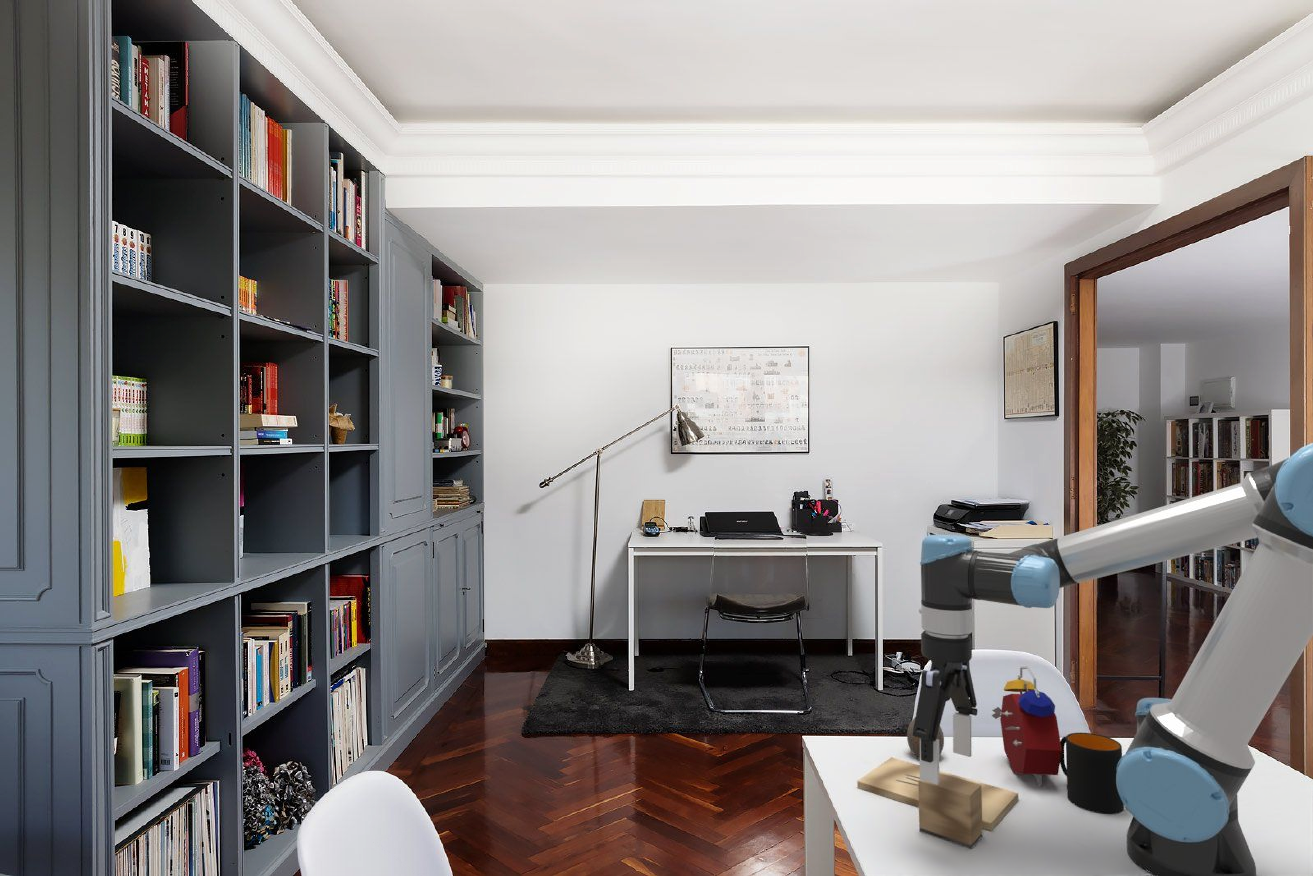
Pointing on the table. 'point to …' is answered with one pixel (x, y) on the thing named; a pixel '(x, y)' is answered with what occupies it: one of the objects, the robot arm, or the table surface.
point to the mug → (1092, 772)
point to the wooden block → (951, 810)
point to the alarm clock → (1029, 729)
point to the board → (903, 786)
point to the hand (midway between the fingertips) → (946, 767)
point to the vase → (915, 741)
